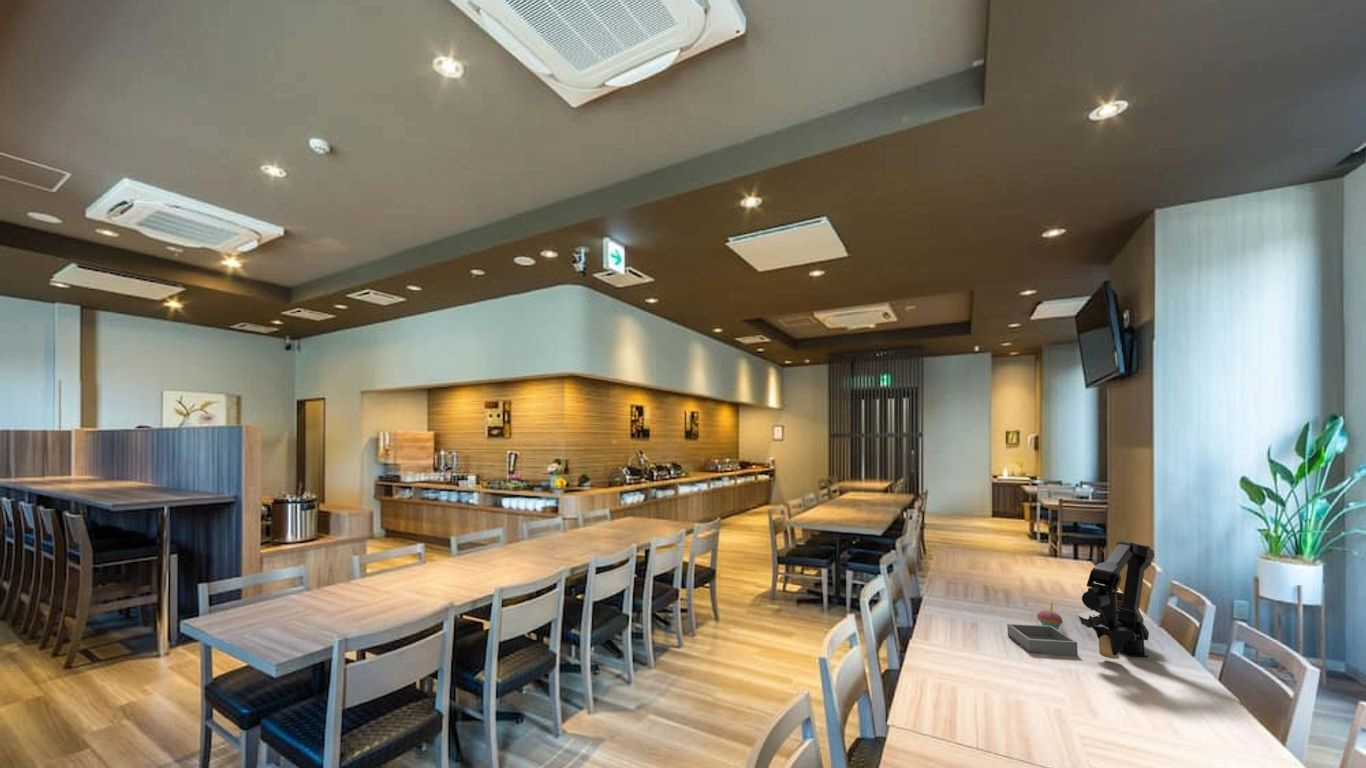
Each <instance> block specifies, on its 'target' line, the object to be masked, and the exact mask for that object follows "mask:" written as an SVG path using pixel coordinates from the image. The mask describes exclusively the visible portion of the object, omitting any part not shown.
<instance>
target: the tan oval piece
mask: <svg viewBox="0 0 1366 768" xmlns="http://www.w3.org/2000/svg"><path fill="white" fill-rule="evenodd" d="M1098 647H1099V648H1098V649H1099V650H1098V651H1099V655H1100V656H1102V657H1104V658H1108V659H1113V660H1118V659H1120V652H1119V653H1118V654H1117V655H1113V653H1112V648H1111V642H1110V639H1109V638H1108V637H1107V636H1106V635H1103V636H1101V637H1100V639H1098Z"/></svg>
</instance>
